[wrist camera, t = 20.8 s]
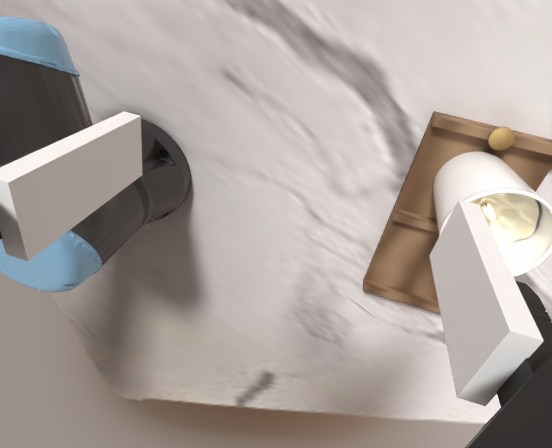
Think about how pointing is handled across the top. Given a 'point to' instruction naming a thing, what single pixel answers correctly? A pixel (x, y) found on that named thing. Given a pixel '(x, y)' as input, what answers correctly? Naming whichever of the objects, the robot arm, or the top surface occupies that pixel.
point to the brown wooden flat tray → (421, 208)
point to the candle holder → (497, 206)
